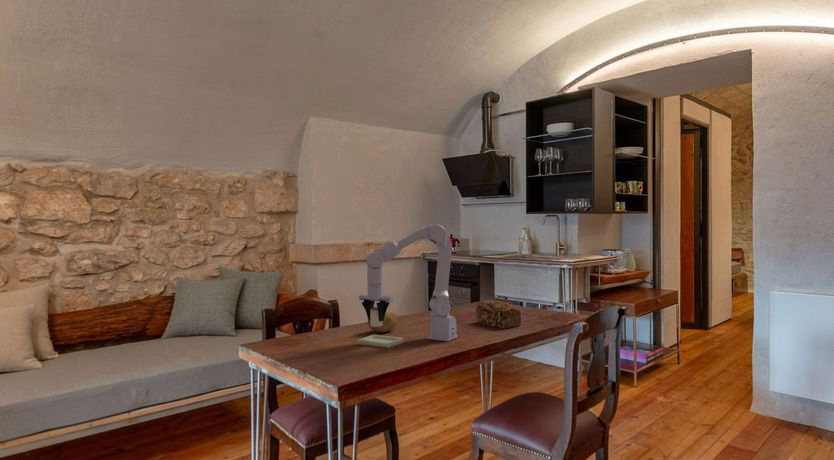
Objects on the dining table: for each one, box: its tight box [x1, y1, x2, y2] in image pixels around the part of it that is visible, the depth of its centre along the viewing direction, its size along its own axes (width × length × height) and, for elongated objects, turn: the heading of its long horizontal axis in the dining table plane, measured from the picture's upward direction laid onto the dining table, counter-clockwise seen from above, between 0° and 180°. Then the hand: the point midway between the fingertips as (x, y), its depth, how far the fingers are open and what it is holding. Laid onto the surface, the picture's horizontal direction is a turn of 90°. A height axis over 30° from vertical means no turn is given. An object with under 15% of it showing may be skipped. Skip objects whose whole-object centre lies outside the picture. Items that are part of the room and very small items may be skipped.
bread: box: [475, 299, 522, 329], centre depth 216 cm, size 19×11×10 cm, turn 31°
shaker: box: [370, 306, 383, 327], centre depth 187 cm, size 5×5×7 cm
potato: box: [367, 311, 399, 333], centre depth 206 cm, size 10×14×8 cm
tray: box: [357, 334, 405, 349], centre depth 186 cm, size 14×10×2 cm
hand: (376, 320), depth 187 cm, fingers closed on shaker, 5 cm apart
